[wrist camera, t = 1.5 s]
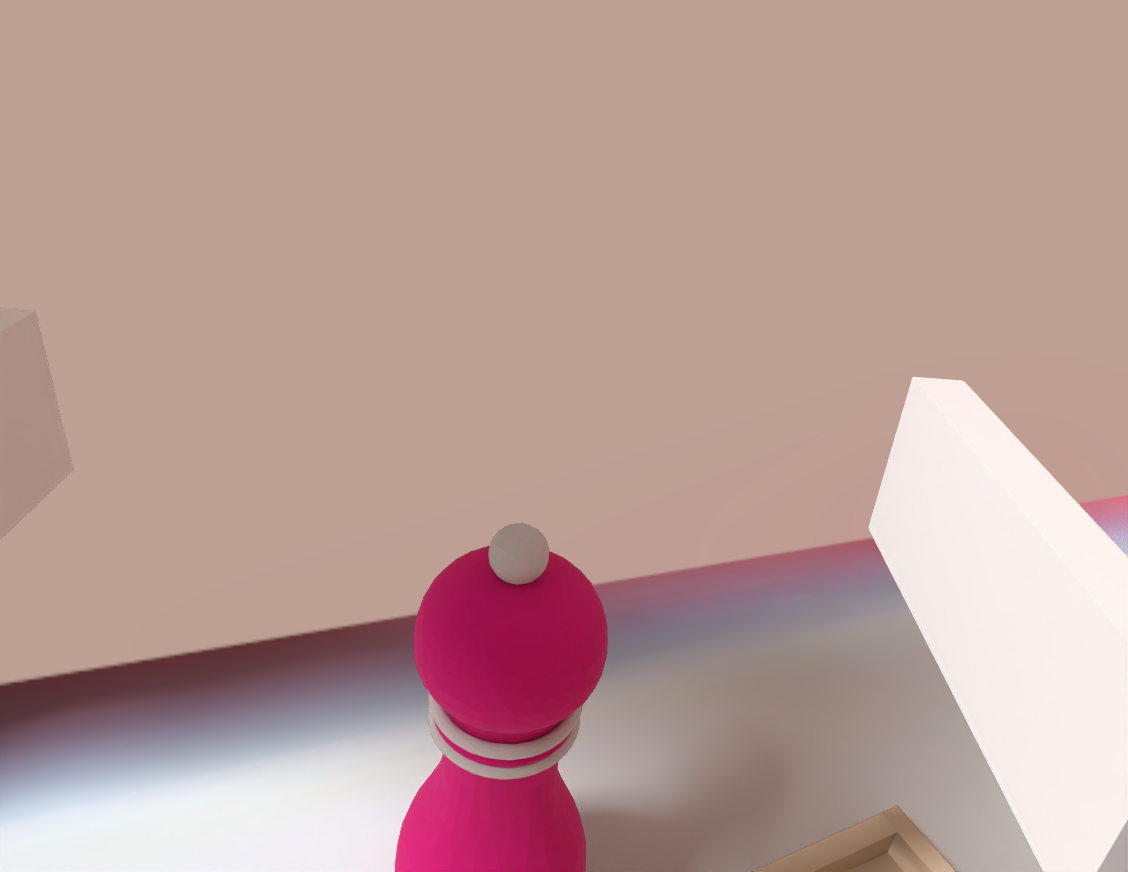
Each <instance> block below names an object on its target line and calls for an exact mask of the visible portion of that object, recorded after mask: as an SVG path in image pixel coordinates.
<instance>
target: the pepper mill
mask: <svg viewBox="0 0 1128 872" xmlns="http://www.w3.org/2000/svg"><path fill="white" fill-rule="evenodd" d="M607 644H608V639H607V623H606V618H605V614H604V610H603V607H602V604H601V601H600V599H599V597H598V595H597V593H596V591H595V589H594V588H593V586H592V584H591V582H590V581H589V580H588V579H587V578H586V576H585V575H584V574H583V573H582V572H581V571H580V570H579V569H578V568H576V567H575V566H574V565H573V564H571V563H570V562H569V561H568V560H566V559H564V558H563V557H561V556H559V555H556V554H554V553H552V552H550V551H549V547H548V543H547V541H546V539H545V537H544V536H543V534H542V533H541V532H540V531H539V530H538V529H536V528H534V527H532V526H530V525H527V524H523V523H517V524H511V525H508V526H506V527H504V528H502V529H501V530H499V531H498V532H497V534H496V535H495V536H494V537H493V539H492V541H491V543H490V546H487V547H484V548H481V549H477V550H474V551H471V552H469V553H467V554H465V555H464V556H461V557H460V558H458V559H456V560H455V561H454V562H452V563H451V564H450V565H449V566H448V567H446V568H445V569H444V570H443V571H442V572H441V573H440V574H439V575H438V576H437V577H436V578H435V579H434V581H433V583H432V584H431V586H430V587H429V589H428V591H427V592H426V594H425V596H424V597H423V600H422V603H421V606H420V609H419V611H418V615H417V619H416V622H415V630H414V640H413V645H414V655H415V663H416V666H417V669H418V671H419V674H420V677H421V680H422V682H423V684H424V686H425V688H426V689H427V690H428V692H429V693H428V695H429V710H428V722H429V727H430V731H431V734H432V736H433V739H434V741H435V743H436V745H437V746H438V748H439V749H440V750H441V751H442V753H443V757H442V759H441V761H440V763H439V764H438V766H437V767H436V769H435V770H434V771H433V773H432V774H431V775H430V776H429V778H428V779H427V780H426V781H425V783H424V784H423V785H422V786H421V788H420V789H419V790H418V792H417V794H416V796H415V797H414V799H413V801H412V803H411V806H410V808H409V810H408V812H407V814H406V816H405V819H404V821H403V823H402V827H401V831H400V836H399V840H398V845H397V852H396V860H395V872H585V866H586V841H585V836H584V831H583V827H582V823H581V819H580V815H579V813H578V810H577V807H576V804H575V801H574V799H573V797H572V795H571V794H570V792H569V790H568V788H567V787H566V785H565V783H564V781H563V780H562V778H561V776H560V774H559V771H558V761H559V760H560V759H561V758H562V757H563V756H564V755H565V754H566V753H567V752H568V751H569V749H570V748H571V747H572V745H573V743H574V741H575V739H576V736H577V733H578V729H579V723H580V714H581V711H582V705H583V704H584V702H585V701H586V700H587V698H588V697H589V696H590V694H591V693H592V692H593V690H594V688H595V687H596V685H597V683H598V681H599V679H600V677H601V675H602V672H603V668H604V664H605V660H606V657H607Z"/></svg>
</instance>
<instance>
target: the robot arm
mask: <svg viewBox="0 0 1128 872" xmlns="http://www.w3.org/2000/svg"><path fill="white" fill-rule="evenodd" d="M73 470H74V468H73V464H72V460H71V456H70V452H69V448H68V443H67V439H66V435H65V431H64V427H63V423H62V419H61V414H60V410H59V406H58V402H57V398H56V394H55V389H54V385H53V381H52V378H51V373H50V369H49V364H48V360H47V356H46V352H45V348H44V344H43V340H42V336H41V331H40V327H39V324H38V319H37V315H36V311H29V310H18V309H4V308H0V540H1V539H2V538H3V537H4V536H5V535H6V534H7V533H8V532H9V531H10V530H11V529H12V528H14V526H16V525H17V524H18V523H19V522H20V521H21V520H22V519H23V518H24V517H25V516H26V515H27V514H28V513H29V512H30V511H31V510H32V509H33V508H35V507H36V506H37V505H38V504H39V503H40V502H41V501H42V500H43V499H44V498H45V497H46V496H47V495H48V494H49V493H50V492H51V491H52V490H53V489H54V488H55V487H57V485H59V484H60V483H61V482H62V481H63V480H64V479H65V478H66V477H67V476H68V475H69V474H70V473H71V472H72V471H73ZM869 530H870V532H871V534H872V536H873V538H874V540H875V542H876V544H877V546H878V548H879V550H880V552H881V554H882V556H883V558H884V560H885V562H886V564H887V566H888V568H889V570H890V572H891V574H892V576H893V578H894V580H895V582H896V584H897V585H898V587H899V589H900V591H901V593H902V595H903V597H904V599H905V601H906V603H907V605H908V607H909V609H910V611H911V613H912V615H913V617H914V619H915V621H916V623H917V625H918V627H919V629H920V631H921V633H922V635H923V637H924V639H925V641H926V642H927V644H928V646H929V648H930V650H931V652H932V654H933V656H934V658H935V660H936V662H937V664H938V666H939V668H940V670H941V672H942V674H943V676H944V678H945V680H946V682H947V684H948V686H949V688H950V690H951V692H952V694H953V696H954V698H955V699H956V701H957V703H958V705H959V707H960V709H961V711H962V713H963V715H964V717H965V719H966V721H967V723H968V725H969V727H970V729H971V731H972V733H973V735H974V737H975V739H976V741H977V743H978V745H979V747H980V749H981V751H982V753H983V755H984V756H985V758H986V760H987V762H988V764H989V766H990V768H991V770H992V772H993V774H994V776H995V778H996V780H997V782H998V784H999V786H1000V788H1001V790H1002V792H1003V794H1004V796H1005V798H1006V800H1007V802H1008V804H1009V806H1010V808H1011V810H1012V812H1013V814H1014V815H1015V817H1016V819H1017V821H1018V823H1019V825H1020V827H1021V829H1022V831H1023V833H1024V835H1025V837H1026V839H1027V841H1028V843H1029V845H1030V847H1031V849H1032V851H1033V853H1034V855H1035V857H1036V859H1037V861H1038V863H1039V865H1040V867H1041V869H1042V871H1043V872H1128V557H1127V556H1126V555H1125V554H1124V553H1123V552H1122V551H1121V549H1120V548H1119V547H1118V546H1117V545H1116V544H1115V543H1114V542H1113V541H1112V540H1111V539H1110V538H1109V537H1108V535H1107V534H1106V533H1105V532H1104V531H1103V530H1102V529H1101V528H1100V527H1099V526H1098V525H1097V524H1096V523H1095V522H1094V520H1093V519H1092V518H1091V517H1090V516H1089V515H1088V514H1087V513H1086V512H1085V511H1084V510H1083V509H1082V508H1081V506H1080V505H1079V504H1078V503H1077V502H1076V501H1075V500H1074V499H1073V498H1072V497H1071V496H1070V495H1069V494H1068V493H1067V492H1066V490H1065V489H1064V488H1063V487H1062V486H1061V485H1060V484H1059V483H1058V482H1057V481H1056V480H1055V479H1054V478H1053V476H1051V474H1050V473H1049V472H1048V471H1047V470H1046V469H1045V468H1044V467H1043V466H1042V465H1041V464H1040V463H1039V461H1038V460H1037V459H1036V458H1035V457H1034V456H1033V455H1032V454H1031V453H1030V452H1029V451H1028V450H1027V449H1026V448H1025V447H1024V445H1023V444H1022V443H1021V442H1020V441H1019V440H1018V439H1017V438H1016V437H1015V436H1014V435H1013V434H1012V433H1011V431H1010V430H1009V429H1008V428H1007V427H1006V426H1005V425H1004V424H1003V423H1002V422H1001V421H1000V420H999V419H998V417H997V416H996V415H995V414H994V413H993V412H992V411H991V410H990V409H989V408H988V407H987V406H986V405H985V403H984V402H983V401H982V400H981V399H980V398H979V397H978V396H977V395H976V394H975V393H974V392H973V391H972V389H971V388H970V387H969V386H968V385H967V384H966V383H965V382H964V381H961V380H960V381H959V380H947V379H934V378H921V377H913V378H912V382H911V385H910V388H909V392H908V395H907V398H906V402H905V405H904V408H903V412H902V415H901V419H900V422H899V426H898V429H897V433H896V436H895V439H894V443H893V446H892V449H891V453H890V456H889V460H888V463H887V466H886V470H885V473H884V476H883V480H882V483H881V487H880V490H879V494H878V497H877V500H876V504H875V507H874V511H873V514H872V517H871V521H870V524H869Z"/></svg>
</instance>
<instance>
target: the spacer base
mask: <svg viewBox="0 0 1128 872" xmlns="http://www.w3.org/2000/svg"><path fill="white" fill-rule="evenodd" d="M752 872H956V871H955V870H954V869H953V868H952V867H951V866H950V864H949V863H948V862H947V861H946V860H945V859H944V858H943V857H942V855H941V854H940V853H939V852H938V851H937V850H936V849H935V847H934V846H933V845H932V844H931V843H930V842H929V841H928V840H927V838H926V837H925V836H924V835H923V834H922V833H921V832H920V830H919V829H918V828H917V827H916V826H915V825H914V824H913V823H912V821H911V820H910V819H909V818H908V817H907V816H906V815H905V813H904V812H903V811H902V810H901V809H900V808H899V807H898V806H895V807H893V808H891V809H889V810H887V811H884V812H882V813H880V814H878V815H876V816H873V817H871V818H869V819H867V820H865V821H862V822H860V823H858V824H856V825H854V826H851V827H849V828H847V829H845V830H843V831H840V832H838V833H836V834H834V835H832V836H829V837H827V838H825V839H823V840H821V841H818V842H816V843H814V844H812V845H810V846H807V847H805V848H803V849H801V850H799V851H796V852H794V853H792V854H790V855H788V856H785V857H783V858H781V859H779V860H777V861H774V862H772V863H770V864H768V865H766V866H763V867H761V868H759V869H757V870H755V871H752Z"/></svg>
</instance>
